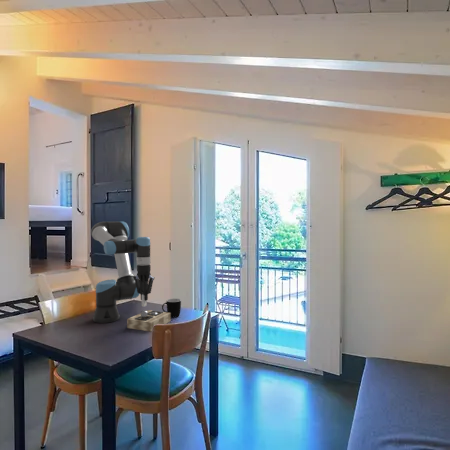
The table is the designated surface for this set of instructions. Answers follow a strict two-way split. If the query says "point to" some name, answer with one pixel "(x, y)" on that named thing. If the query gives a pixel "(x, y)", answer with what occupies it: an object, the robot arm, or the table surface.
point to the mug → (173, 307)
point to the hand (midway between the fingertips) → (144, 305)
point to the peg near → (144, 314)
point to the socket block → (148, 320)
